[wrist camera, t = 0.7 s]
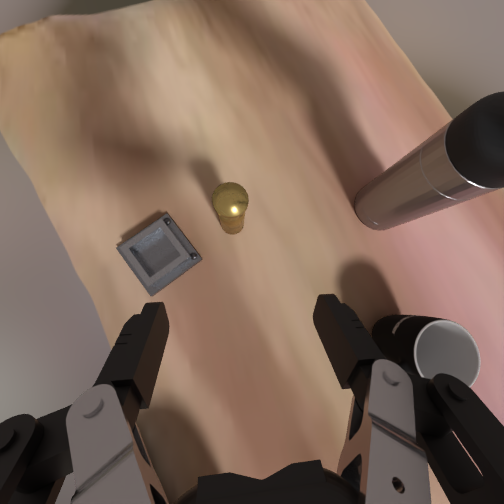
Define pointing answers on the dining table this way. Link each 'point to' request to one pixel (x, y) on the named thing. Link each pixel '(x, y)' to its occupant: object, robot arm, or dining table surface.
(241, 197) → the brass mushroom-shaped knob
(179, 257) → the square tray with knobs
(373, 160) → the dining table surface
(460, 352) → the mug
